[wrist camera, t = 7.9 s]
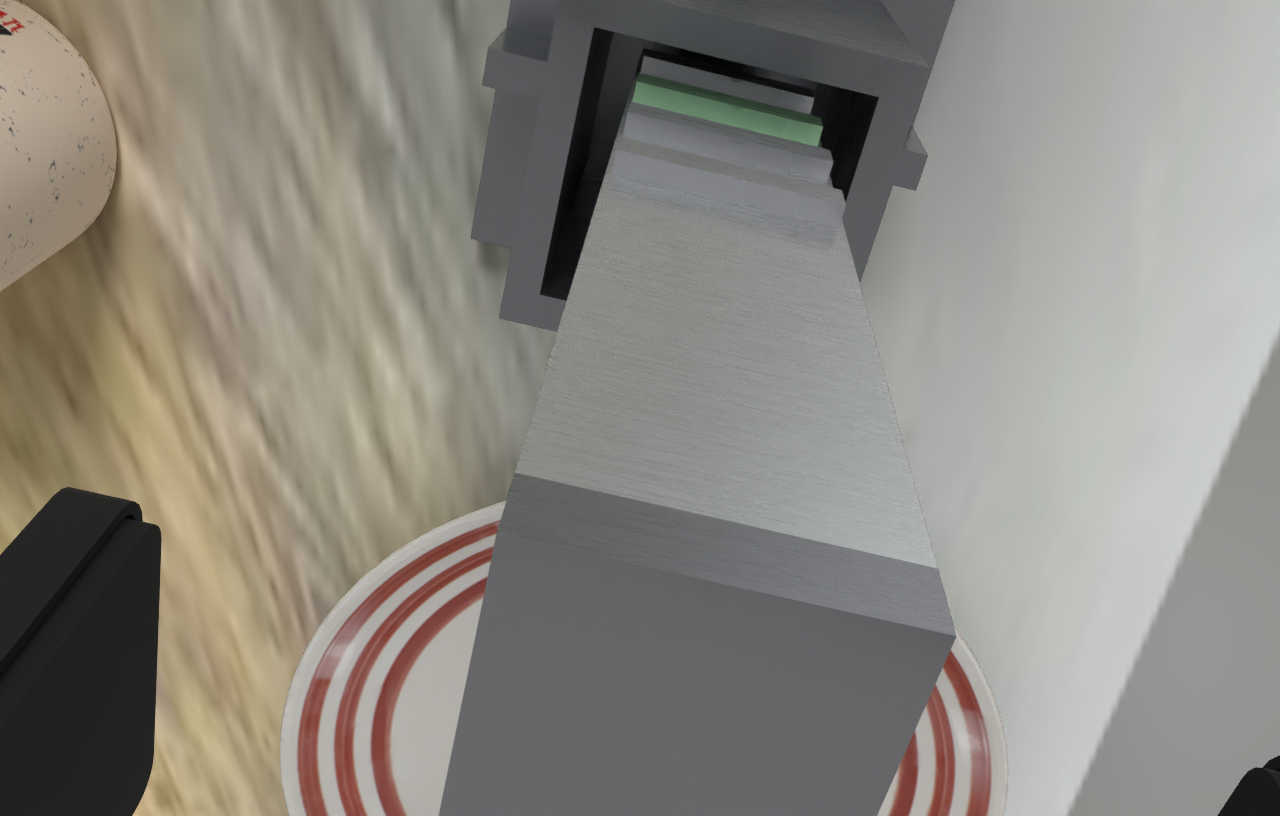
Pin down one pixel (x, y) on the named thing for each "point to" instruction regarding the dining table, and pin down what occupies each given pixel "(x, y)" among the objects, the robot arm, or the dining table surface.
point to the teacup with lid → (47, 142)
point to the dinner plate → (436, 676)
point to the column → (706, 498)
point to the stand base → (703, 31)
